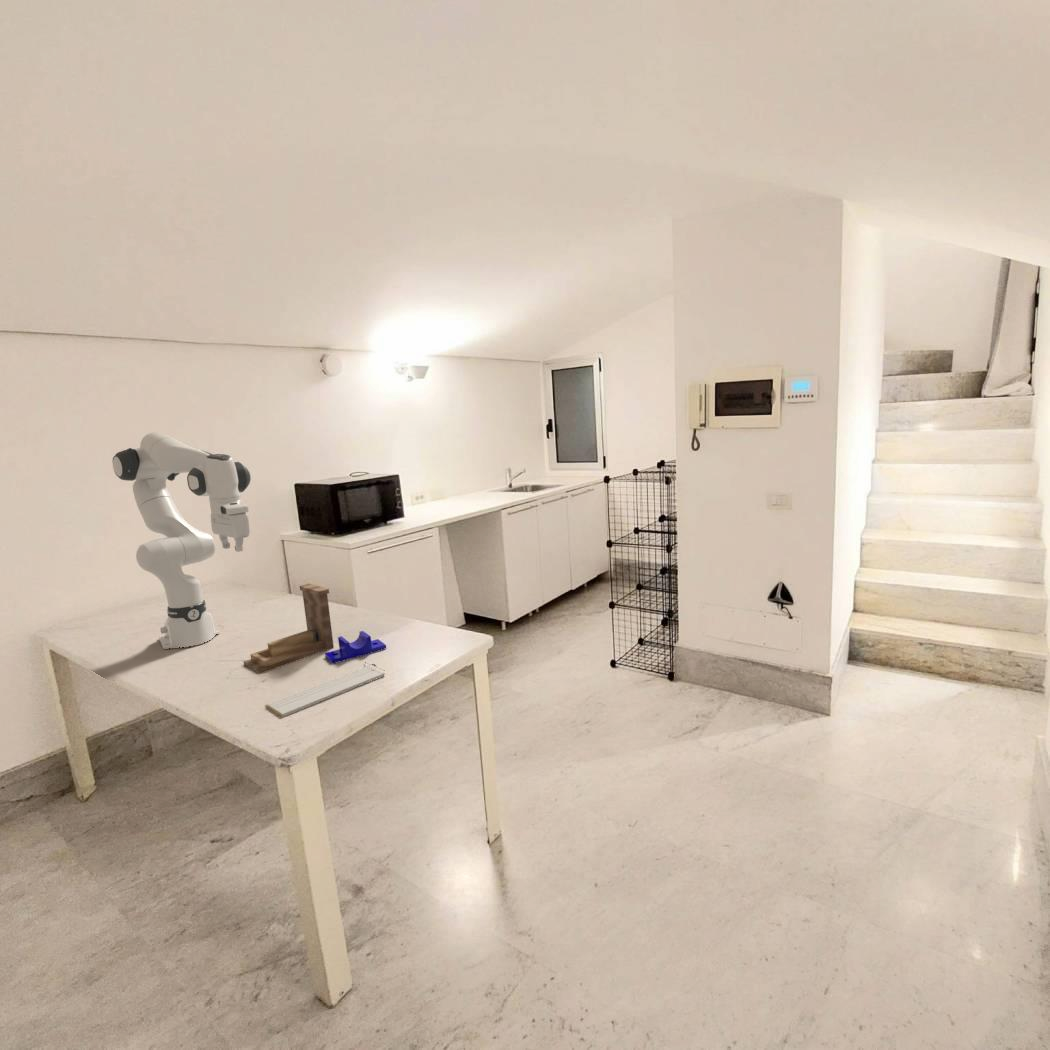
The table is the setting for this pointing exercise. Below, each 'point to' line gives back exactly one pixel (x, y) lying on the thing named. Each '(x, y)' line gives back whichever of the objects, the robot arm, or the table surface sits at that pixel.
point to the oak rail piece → (291, 642)
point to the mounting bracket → (354, 648)
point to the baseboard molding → (324, 690)
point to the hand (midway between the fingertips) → (232, 549)
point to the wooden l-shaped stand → (315, 621)
